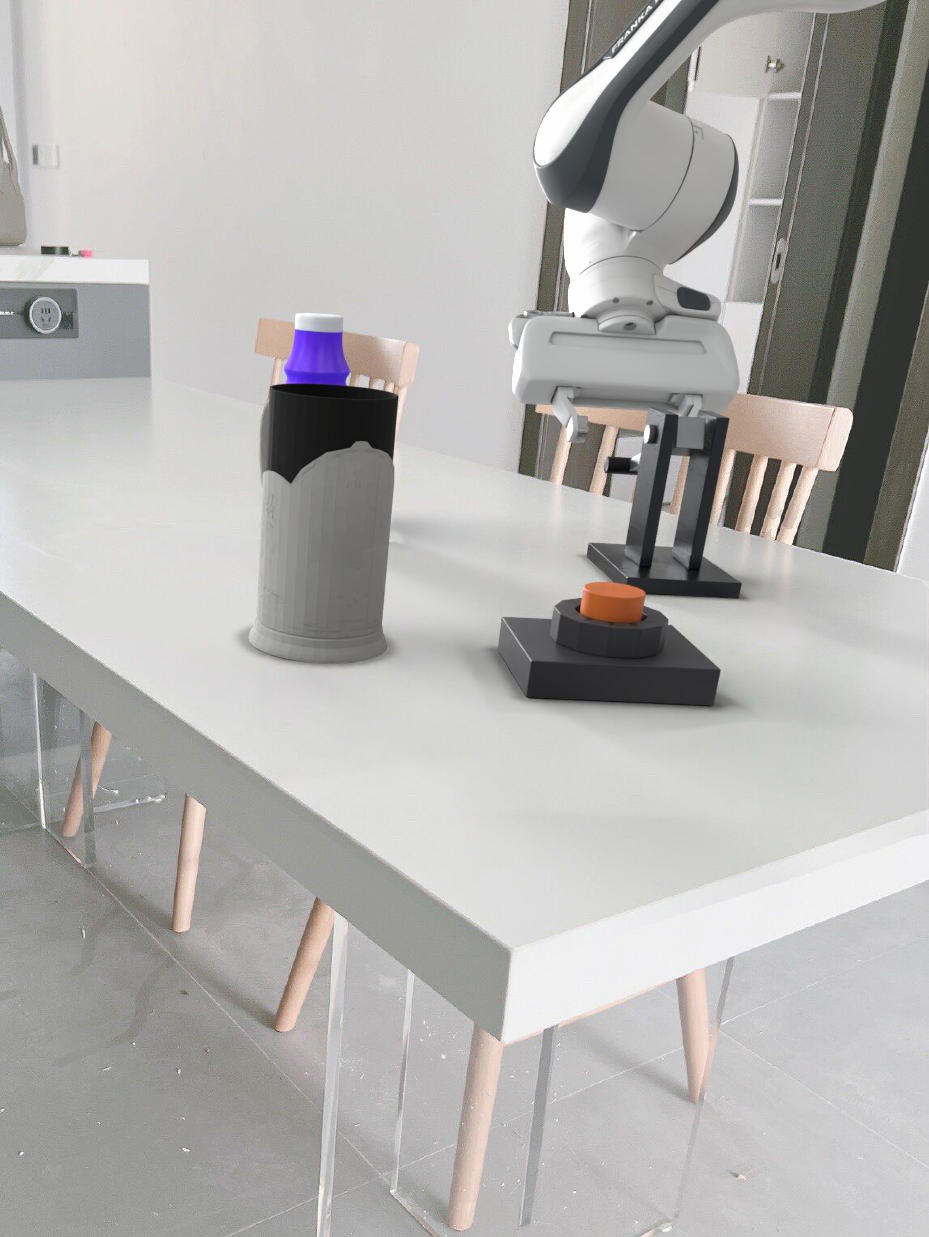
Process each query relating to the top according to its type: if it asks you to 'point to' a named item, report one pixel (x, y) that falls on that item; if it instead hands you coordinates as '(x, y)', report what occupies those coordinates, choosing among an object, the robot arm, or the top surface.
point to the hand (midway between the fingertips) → (630, 441)
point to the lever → (684, 444)
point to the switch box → (606, 659)
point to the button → (612, 602)
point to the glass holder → (324, 521)
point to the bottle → (317, 351)
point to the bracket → (684, 561)
